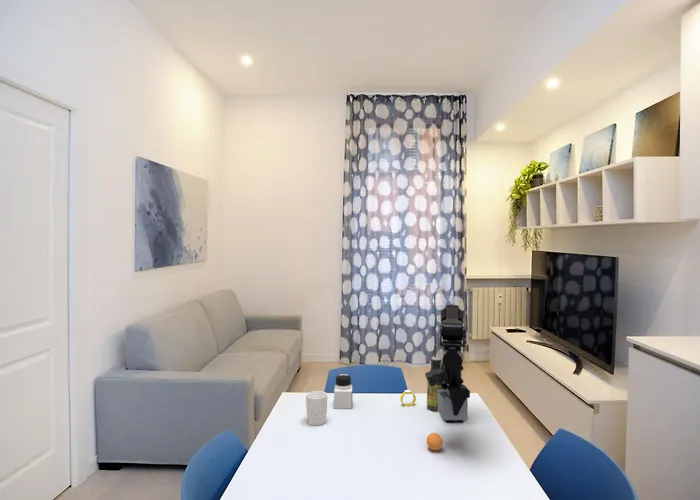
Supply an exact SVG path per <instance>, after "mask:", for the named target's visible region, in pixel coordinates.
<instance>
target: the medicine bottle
mask: <svg viewBox="0 0 700 500" xmlns="http://www.w3.org/2000/svg"><path fill="white" fill-rule="evenodd" d="M333 408H334V409H336V410H338V409H339V410H344V409H345V410H350V409H351V410H352V409H353V385H352V376H351V375H349V374H338V375H337V376H336V377H335V385H334V390H333Z"/></svg>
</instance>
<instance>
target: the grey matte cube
mask: <svg viewBox="0 0 700 500" xmlns="http://www.w3.org/2000/svg"><path fill="white" fill-rule="evenodd" d="M468 400H469V398H467V399H466V400H465V402H464V404H463V406H462V408H461V410H460V412H459V414H458V415H457V416H454V413H453V407H452V401H451V399H450V398H449V397H448V396H447V390H438V411H437V412H438V414H439V416H440V417H441V419H442V421H445V420H463V421H469V418H468V415H469V414H468V412H469V411H468V408H469V407H468V406H469V405H468V404H469V403H468Z"/></svg>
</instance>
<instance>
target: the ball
mask: <svg viewBox="0 0 700 500" xmlns="http://www.w3.org/2000/svg"><path fill="white" fill-rule="evenodd" d="M443 443H444V441H443V438H442V435H440V434H439V433H437V432H431V433H429V434H428V435H427V437H426V445H427V447H428V448H429V449H430V450H432V451H439V450H440V449H441V448H442V446H443Z"/></svg>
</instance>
